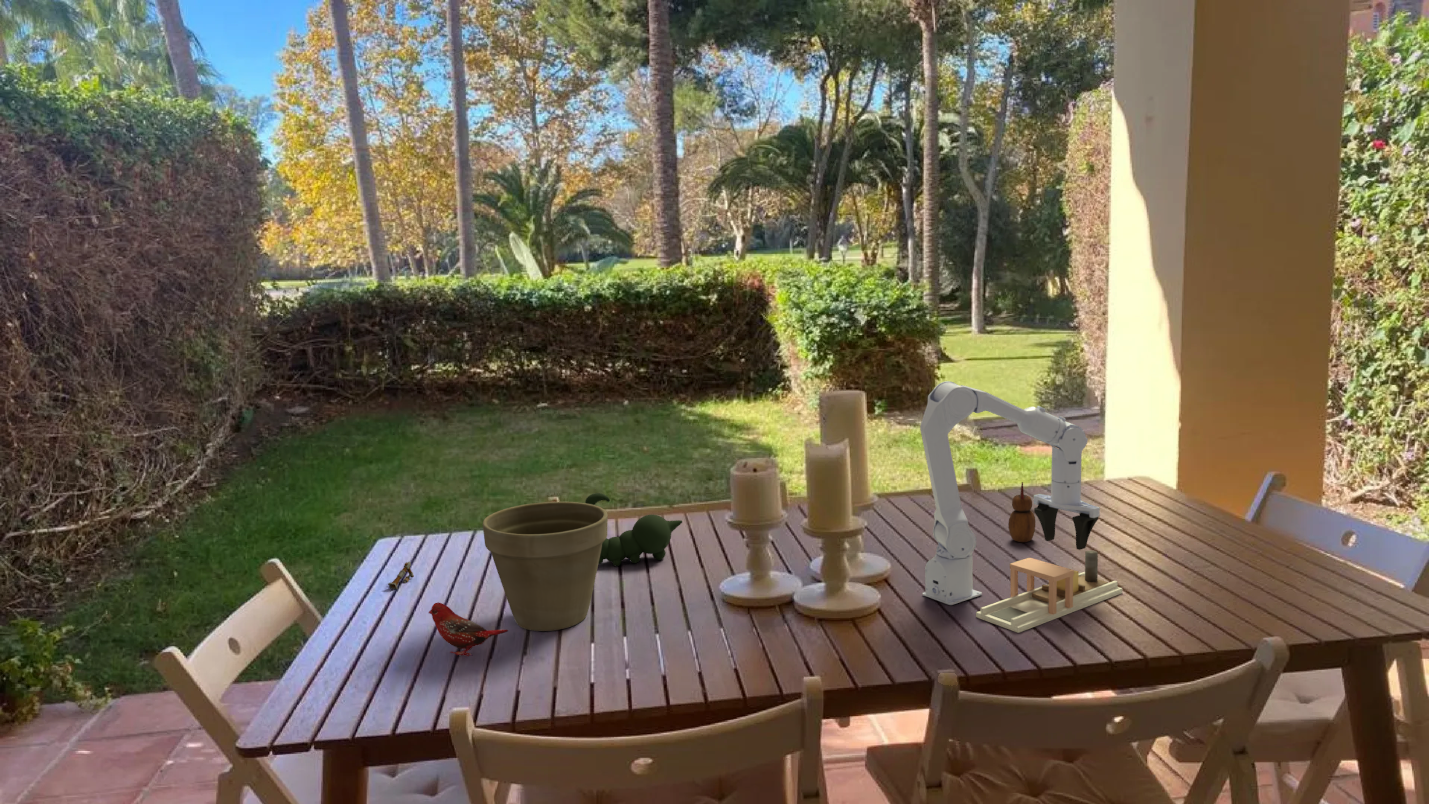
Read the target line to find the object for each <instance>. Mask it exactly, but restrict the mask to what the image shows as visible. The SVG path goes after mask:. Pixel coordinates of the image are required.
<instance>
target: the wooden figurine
mask: <svg viewBox="0 0 1429 804" xmlns="http://www.w3.org/2000/svg"><path fill="white" fill-rule="evenodd" d="M1020 487H1021V488H1020V492H1019V493H1020V494H1016V495H1014V496H1013V498H1012V500H1011V507H1012V509H1013V511H1012V512H1011V513H1010V515H1009V518H1008V522H1007V523H1008V530H1009V531H1008V532H1009V535H1010V537H1011V539H1012V540H1013V541H1015V542H1018V543H1027V542H1030V541H1032V539H1033V537H1034V536H1035V535H1034V534H1035V531H1036V516H1035V512H1034V511H1032V509H1033V508H1032V507H1033V501H1032V500H1033V499H1032V498H1031V496H1030V495H1026V494H1025V492H1024V482H1023V481H1022V482H1021V486H1020Z"/></svg>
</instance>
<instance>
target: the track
mask: <svg viewBox="0 0 1429 804" xmlns="http://www.w3.org/2000/svg"><path fill="white" fill-rule="evenodd" d="M1009 569H1010V570H1009V571H1010V572H1009V573H1010V576H1009V577H1010V594H1009V595H1010V597H1009V598H1005V599H1002V600H999V601H997V602H994V603H991V604H988V605H986V606H981V607H980V611H976V612H975V613H976V614H975V617H976V618H978V619H980V620H983V621H986V622H988V623H991V624H994V625H996V626H999V627H1001V628H1004V629H1006V630H1007V629H1008V630H1009V631H1012V632H1014V633H1018V634H1019V633H1022V632H1025V631H1028V630H1029V629H1032V628H1035V627H1038V626H1040V625H1042V624H1045V623H1048V622H1050V621H1053V620H1056V619H1058V618H1061V617H1064V616H1066V615H1068V614H1071V613H1073V612H1077V611H1079V610H1082V609H1085V608H1087V607H1089V606H1092V605H1095V604H1097V603H1099V602H1103V601H1105V600H1108V599H1110V598H1114V597H1116V596H1118V595H1121V594H1123V588H1122V587H1119V586H1118V584H1119V583H1118V582H1119V581H1117V580H1112V581H1110V582H1108V583H1107V584H1104V585H1102V586H1099V587H1096V588H1093V589H1091V590H1088V591H1085V592H1083V593H1080V594H1077V595H1074V596H1073V575H1074V570H1075V569H1072V570H1071V568H1068V567H1065V568H1064V566H1060V565H1057V564H1053V563H1050V562H1047V561H1043V560H1040V559H1036V558H1032V557H1027V558H1024V559H1020V560H1017V561H1014V562H1011V563H1009ZM1019 572H1020V573H1023V574H1026V591H1025V592H1023V593H1019V575H1018V574H1019ZM1082 575H1085V571H1083V572H1080V573H1079V577H1080V576H1082ZM1035 577H1037V578H1039V579H1042V580H1045V581H1048V584H1047V585H1048V586H1049V603H1048V602H1045V601H1042V600H1039V599H1036V598H1033V597H1032V593H1034V592H1037V591H1040V590H1042V586H1040V587H1036V588H1035ZM1062 579H1065V599H1064V600H1061V601H1058V602H1056V601H1057V581H1059V580H1062Z"/></svg>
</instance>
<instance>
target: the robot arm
mask: <svg viewBox="0 0 1429 804" xmlns="http://www.w3.org/2000/svg"><path fill="white" fill-rule="evenodd" d="M985 411H987V412H988V413H990V414H993V415H997V416H998V417H1001V418H1004V419H1006V420H1008V421H1011V422H1013V423H1016V425H1017V427H1018V430H1019V432H1020V433H1022V434H1024V435H1027V436H1029V437H1031V438H1034V439H1036V440H1039V441H1041V442H1043V443H1045V444H1048V445H1050V446H1051V483H1050V484H1051V485H1050V489H1051V490H1050V492H1051V493H1050V494H1051V495H1049V494H1041V493H1038V494H1034V495H1033V505H1036V506H1037V507H1034V508H1033V513H1034V515H1036V517H1037V519H1038V520H1039V523H1040V525H1041V529H1042V532H1043V536H1044V540H1045V541H1046V542H1049V541H1050V542H1051V541H1054V540H1055V536H1056V522H1057V516H1058V511H1059V510H1063V511H1067V512H1070V513H1075V514H1079V515H1074V516H1072V521H1073V525H1074V531H1075V547H1076V550H1079V551H1081V550H1083V549H1086V547H1087V543H1088V541H1089V540H1088V539H1089V537H1090V534H1091V532H1092V530H1093V528H1094V526H1095V525H1096V523H1097V521H1098V520H1099V517H1100V515H1101V513H1100V512H1101V510H1100V509H1101V508H1100V507H1101V506H1100V507H1099V506H1097V505H1093V504H1090V503H1088V502H1085V501H1083V500H1082V459H1083V458H1082V453H1083V450H1084V449H1085V448H1086V447H1087V444H1088V439H1089V438H1088V437H1087V436H1086V432H1085V430H1084V429H1083V428H1082V427H1081V426H1080V425H1077V424H1074V423H1072V422H1071V423H1070V422H1068V421H1066V420H1067V418H1065V417H1064V416H1061V415H1059V416H1056V415H1053V414H1051V413H1049V412H1046V408H1044V407H1042V406H1039V405H1037V406H1036V407H1035V406H1029V407H1025V408H1024V409H1023V408H1021V407H1019V406H1017V405H1014V404H1012V403H1010V402H1008V401H1006V400H1004V399H1002V398H1000V397H998V396H996V395H994V394H991V393H989V392H987V391H984V390H982V389H979V388H974V387H971V386H967V385H963V384H960V385H959V384H957V383H955V382H954V381H948V380H946V381H942V382H940V383H938V384H937V385H936V386H935V387H934V389H932V391H931V392H930V393H929V394H928V395H927V404H926V408H925V410H924V413H923V416H922V419H921V423H920V427H919V428H920V435H921V439H922V445H923V449H924V450H923V451H924V454H925V461H926V465H927V471H928V474H929V479H930V484H931V490H932V495H933V499H934V504H935V511H934V512H933V517H934V522H933V528H932V534H933V538H934V540H935V541H936V542H937V547H936V550H935V555H934V556H933V557H932V558H931V559H929V560H928V561H927V562H926V564H925V568H924V581H925V583H924V585H925V586H924V588H925V591H924V592H921V593H922V596H924V597H927V598H930V599H932V600H935V601H938V602H940V603H943V604H945V605H949V606H953V605H956V604H958V603H962V602H964V601H968V600H971V599H974V598H976V597H979V596H980V597H981V596H982V595H983V592H982V591H978V590H975V589H974V588H973V585H974V584H973V552H974V551H975V549H976V547H977V537H976V534H975V533H974V532H973V531H972V529H971V528H970V526H969V520H968V518H967V516H966V514H965V512H964V509H963V507H962V502H961V497H960V492H959V486H958V482H957V476H956V472H955V467H954V466H955V465H954V460H953V455H952V452H951V445H950V441H949V434H950V432H951V431H952V430H953V429H954V427H955V426H956V425H957V424H959V423H960V422H962V421H963V420H965V419H967V418H968V417H969V416H970V415H972V414H973V413H975V414H980V413H983V412H985Z"/></svg>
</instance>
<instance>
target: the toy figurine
mask: <svg viewBox="0 0 1429 804" xmlns="http://www.w3.org/2000/svg"><path fill="white" fill-rule="evenodd" d="M601 501H606V502H608V503H609V502H611V499H610V497H609V496H608V495H606V494H604V493H601V492H596V493H592V494H590V495H588V496H587V497H586V499H585V501H584V503H586V504H592V505H596V504H598V503H599V502H601ZM681 524H683V521H682V520H681V519H680V520H677V519H675V520H666V519H665V518H664V517H662V516H660V515H658V514H646V515H644V516H641V517H640V518H638V520H636V522H635V523H634V524H633V527H632V529H628V530H625V531H623V532H622V533H620V535H619V536H613V537H610V538H606V539H605V541H604V542H603V543H602V548H601V553H600V558H599V563H598V565H601V564H602V563H603V562H604V560H607V561H609V562H611V563H612V565H613V566H614V567H620V566H621V564H622V562H623V561H624V560H626V559H629V561H630V562H631V563H632V564H637V563H639V562H640V559H641V555H642V554H647V555H651V556H653V558H654V560H657V561H659V560H660V561H661V560H663V559H664V558H665V557H666V553H667V552H666V550H665V549H666V548H667V547H668V545H670V542H671V538H672V533H673V532H674V531H675V530H676V529H677V528H678V527H680V526H681Z"/></svg>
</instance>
